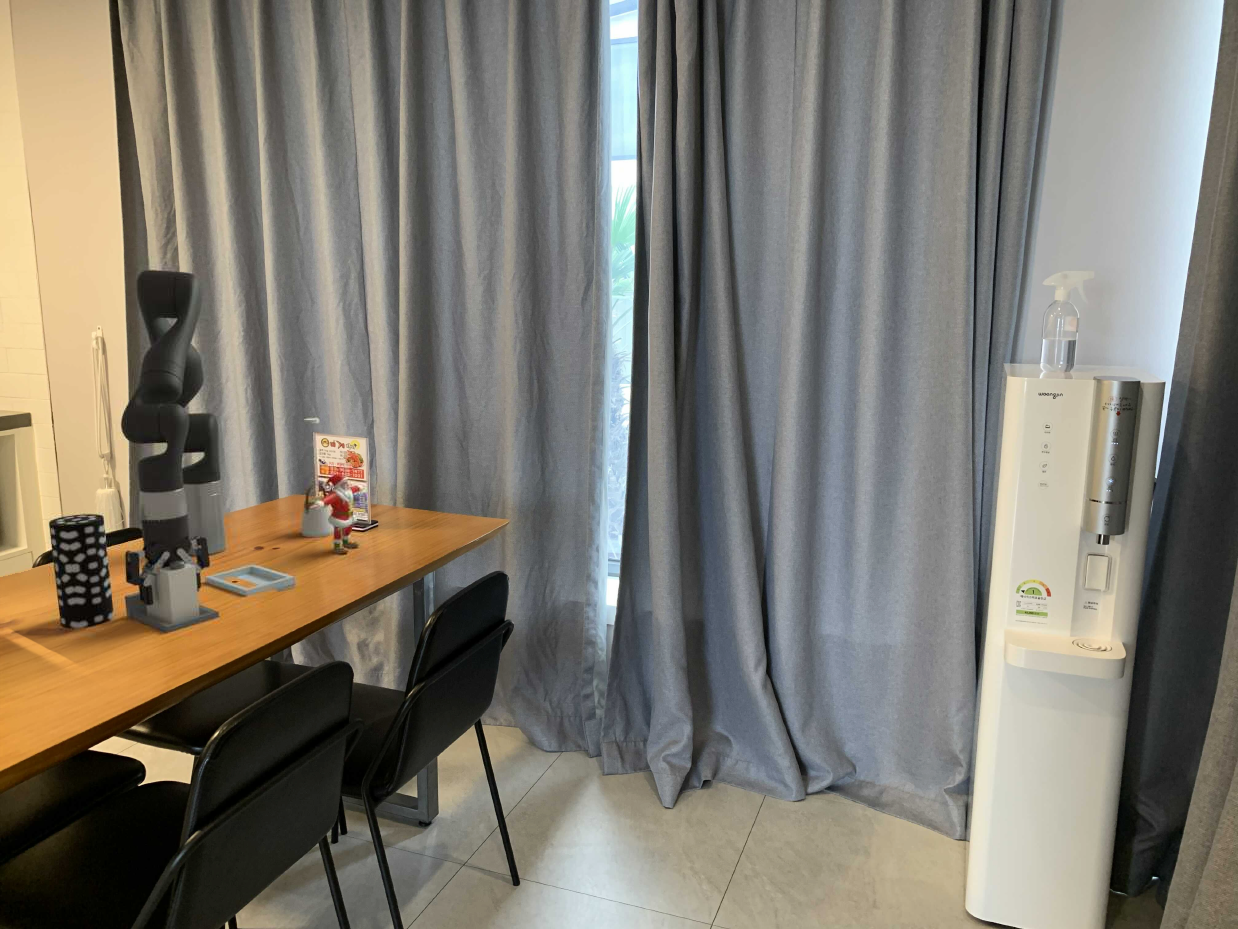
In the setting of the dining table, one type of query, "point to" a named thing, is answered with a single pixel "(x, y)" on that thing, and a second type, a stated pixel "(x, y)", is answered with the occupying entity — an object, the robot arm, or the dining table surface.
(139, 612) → the bay
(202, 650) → the dining table surface
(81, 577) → the white-spotted black cylinder
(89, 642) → the dining table surface
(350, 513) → the santa figurine
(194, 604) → the white block with knob
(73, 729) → the dining table surface
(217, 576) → the tray
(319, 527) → the white tall stand
